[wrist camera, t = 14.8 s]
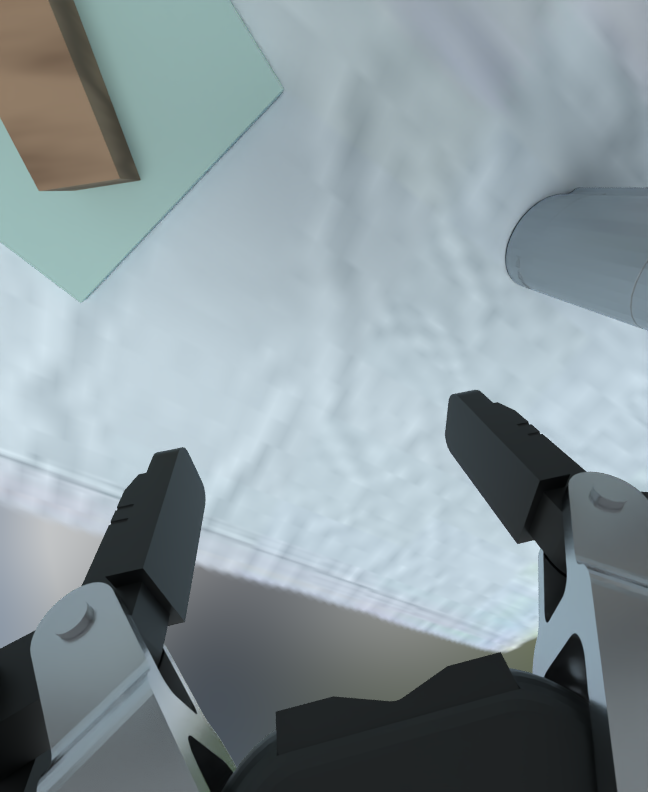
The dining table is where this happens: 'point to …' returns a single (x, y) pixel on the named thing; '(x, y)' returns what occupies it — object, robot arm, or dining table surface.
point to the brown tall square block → (58, 99)
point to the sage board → (141, 132)
